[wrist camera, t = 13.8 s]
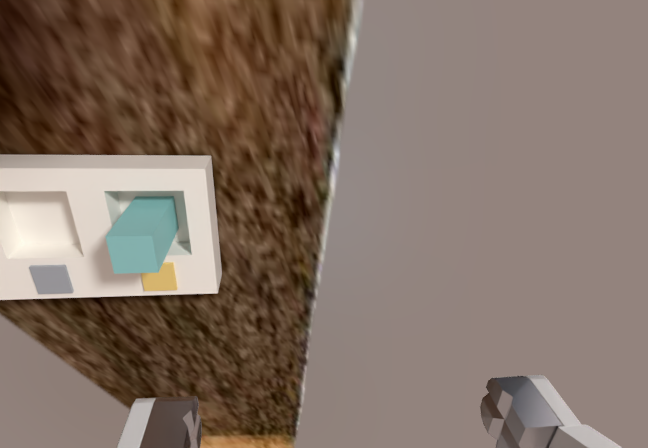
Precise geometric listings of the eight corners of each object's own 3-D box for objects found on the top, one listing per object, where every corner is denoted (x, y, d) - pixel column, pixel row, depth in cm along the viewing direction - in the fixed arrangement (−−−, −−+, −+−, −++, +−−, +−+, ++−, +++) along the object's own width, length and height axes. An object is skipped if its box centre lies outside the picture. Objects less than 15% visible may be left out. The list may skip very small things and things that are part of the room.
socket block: (-26, 154, 35) (-58, 169, 32) (210, 155, 37) (204, 169, 34) (20, 278, 41) (-3, 302, 38) (221, 273, 43) (217, 295, 40)
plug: (135, 196, 37) (105, 236, 31) (173, 196, 38) (152, 235, 31) (142, 229, 39) (114, 273, 32) (178, 228, 39) (158, 272, 32)
